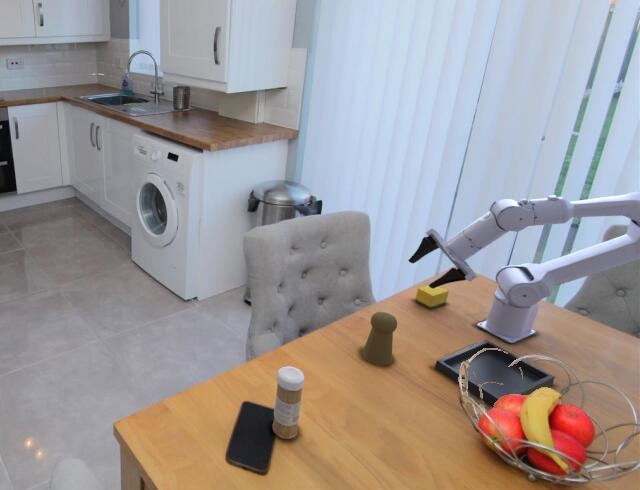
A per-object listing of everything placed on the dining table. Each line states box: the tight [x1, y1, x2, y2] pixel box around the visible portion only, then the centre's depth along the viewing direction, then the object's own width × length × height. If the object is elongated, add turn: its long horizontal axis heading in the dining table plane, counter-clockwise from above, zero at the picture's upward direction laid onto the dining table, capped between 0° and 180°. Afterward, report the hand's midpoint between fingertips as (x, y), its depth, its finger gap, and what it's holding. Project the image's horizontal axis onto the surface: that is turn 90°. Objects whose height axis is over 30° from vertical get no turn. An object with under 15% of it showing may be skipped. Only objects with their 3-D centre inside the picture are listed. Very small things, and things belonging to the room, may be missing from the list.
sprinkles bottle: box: [271, 365, 305, 440], centre depth 88 cm, size 5×5×14 cm
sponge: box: [414, 284, 450, 310], centre depth 128 cm, size 6×4×4 cm
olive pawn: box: [362, 311, 398, 367], centre depth 107 cm, size 6×6×11 cm
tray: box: [434, 339, 556, 407], centre depth 101 cm, size 17×14×2 cm
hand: (420, 274), depth 118 cm, fingers open, 7 cm apart
